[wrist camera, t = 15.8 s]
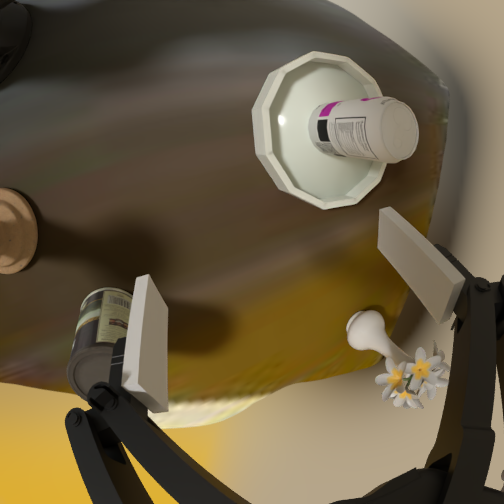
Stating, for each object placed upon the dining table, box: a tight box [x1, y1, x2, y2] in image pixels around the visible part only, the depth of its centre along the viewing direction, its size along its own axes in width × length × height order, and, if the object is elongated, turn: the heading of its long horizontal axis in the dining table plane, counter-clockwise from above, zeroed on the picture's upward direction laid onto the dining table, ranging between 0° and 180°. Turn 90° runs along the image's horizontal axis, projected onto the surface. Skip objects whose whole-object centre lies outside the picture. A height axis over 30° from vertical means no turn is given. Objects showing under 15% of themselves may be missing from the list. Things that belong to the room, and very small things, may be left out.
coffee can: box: [67, 288, 133, 402], centre depth 33 cm, size 10×10×14 cm
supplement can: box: [308, 97, 419, 163], centre depth 34 cm, size 8×8×15 cm
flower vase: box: [346, 310, 451, 409], centre depth 49 cm, size 13×18×25 cm
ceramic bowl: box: [252, 51, 387, 209], centre depth 40 cm, size 24×24×4 cm
